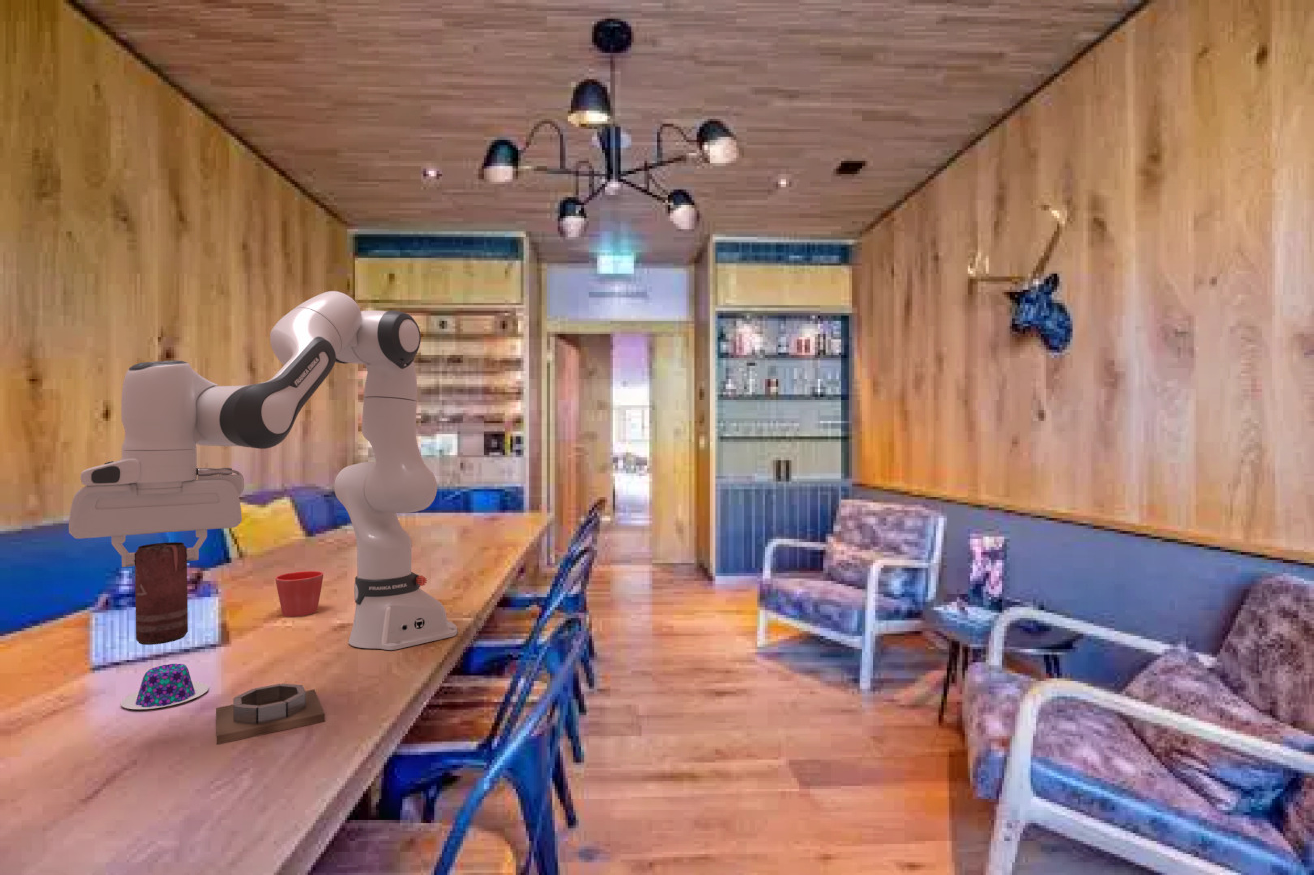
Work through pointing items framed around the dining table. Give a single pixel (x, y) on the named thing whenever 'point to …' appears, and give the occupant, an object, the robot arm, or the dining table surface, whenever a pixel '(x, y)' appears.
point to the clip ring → (253, 714)
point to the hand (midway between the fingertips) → (161, 563)
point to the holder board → (236, 731)
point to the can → (161, 593)
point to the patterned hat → (165, 688)
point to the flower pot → (299, 592)
